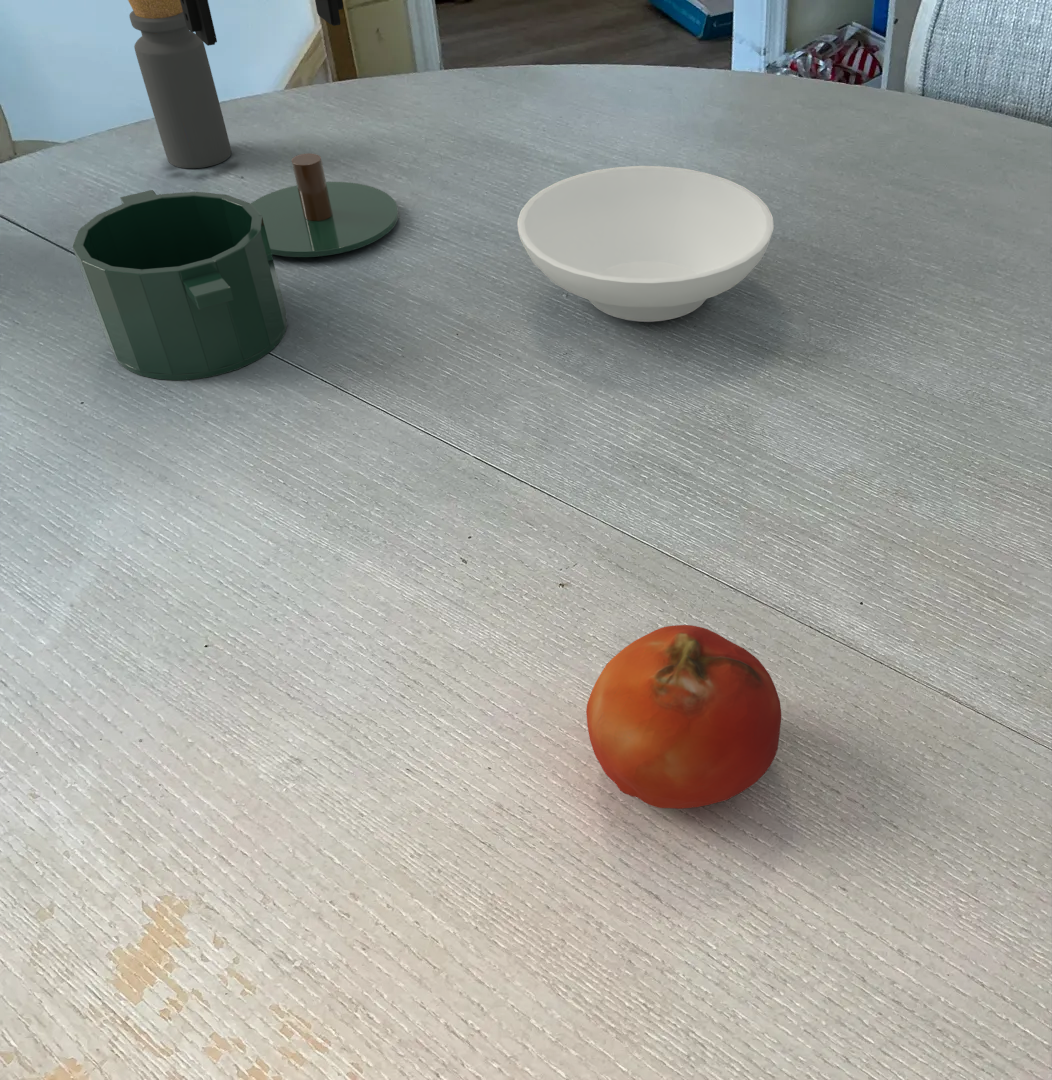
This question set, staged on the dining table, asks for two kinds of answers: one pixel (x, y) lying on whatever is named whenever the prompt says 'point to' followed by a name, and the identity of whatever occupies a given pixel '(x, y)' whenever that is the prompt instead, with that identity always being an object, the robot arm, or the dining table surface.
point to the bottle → (179, 85)
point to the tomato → (684, 718)
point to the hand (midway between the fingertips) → (269, 30)
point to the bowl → (645, 238)
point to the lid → (323, 213)
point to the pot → (182, 283)
